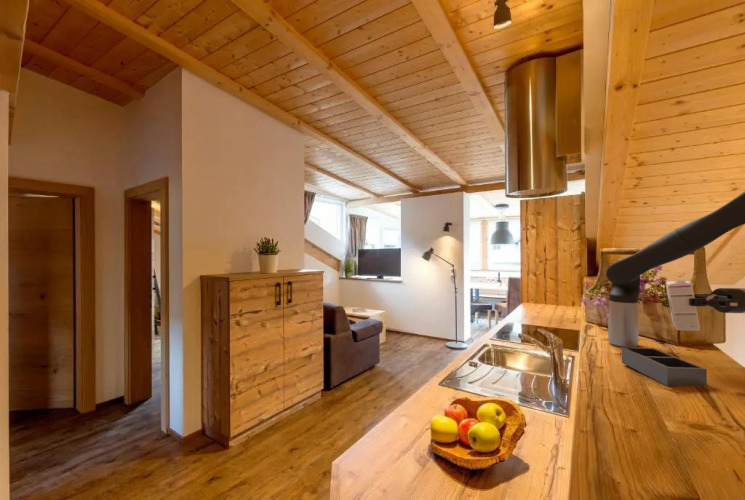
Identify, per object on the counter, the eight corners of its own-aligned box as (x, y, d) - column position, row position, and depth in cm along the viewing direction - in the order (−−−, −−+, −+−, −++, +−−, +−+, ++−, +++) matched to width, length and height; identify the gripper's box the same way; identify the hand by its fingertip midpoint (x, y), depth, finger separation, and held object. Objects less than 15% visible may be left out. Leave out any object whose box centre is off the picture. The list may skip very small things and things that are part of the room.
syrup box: (701, 331, 95) (693, 282, 96) (674, 330, 99) (667, 284, 99) (697, 326, 100) (689, 279, 100) (671, 325, 103) (664, 281, 104)
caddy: (621, 362, 105) (621, 347, 105) (653, 363, 104) (653, 348, 104) (667, 386, 87) (667, 367, 87) (706, 387, 86) (706, 369, 86)
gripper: (714, 285, 105) (660, 285, 107) (763, 291, 91) (699, 291, 92) (714, 308, 105) (660, 307, 107) (763, 318, 91) (699, 317, 93)
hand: (678, 299), depth 100 cm, fingers closed on syrup box, 7 cm apart
